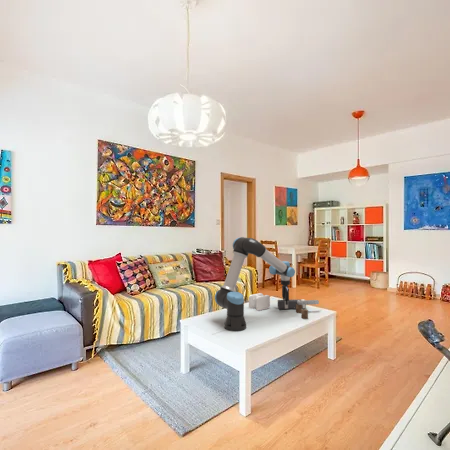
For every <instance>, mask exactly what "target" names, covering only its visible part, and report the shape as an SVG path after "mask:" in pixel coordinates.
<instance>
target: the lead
mask: <svg viewBox="0 0 450 450" xmlns="http://www.w3.org/2000/svg"><path fill="white" fill-rule="evenodd" d="M297 300H298V299H289V301H288V308H286V310H289V309H296V304H297ZM300 300H305V299H304V298H303V299H300ZM277 308H278V309H279V310H283V309H285V301H284V300H283V299H277ZM302 309H307V305H302Z"/></svg>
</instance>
